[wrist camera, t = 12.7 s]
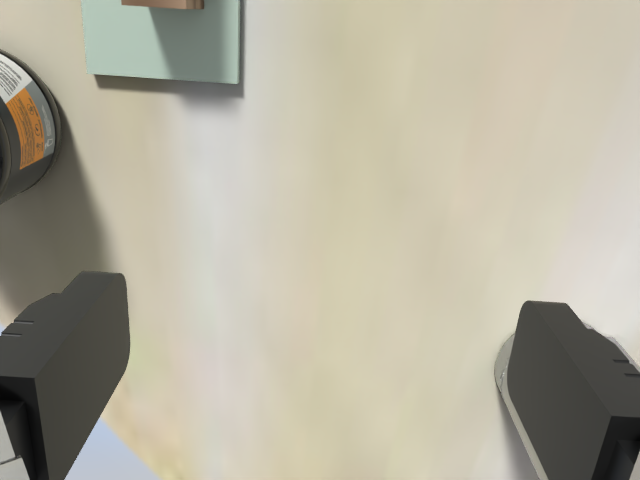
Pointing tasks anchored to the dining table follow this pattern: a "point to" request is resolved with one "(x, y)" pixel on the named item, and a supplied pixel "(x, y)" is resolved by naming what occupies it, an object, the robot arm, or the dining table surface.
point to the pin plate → (163, 41)
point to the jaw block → (166, 3)
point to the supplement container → (25, 127)
